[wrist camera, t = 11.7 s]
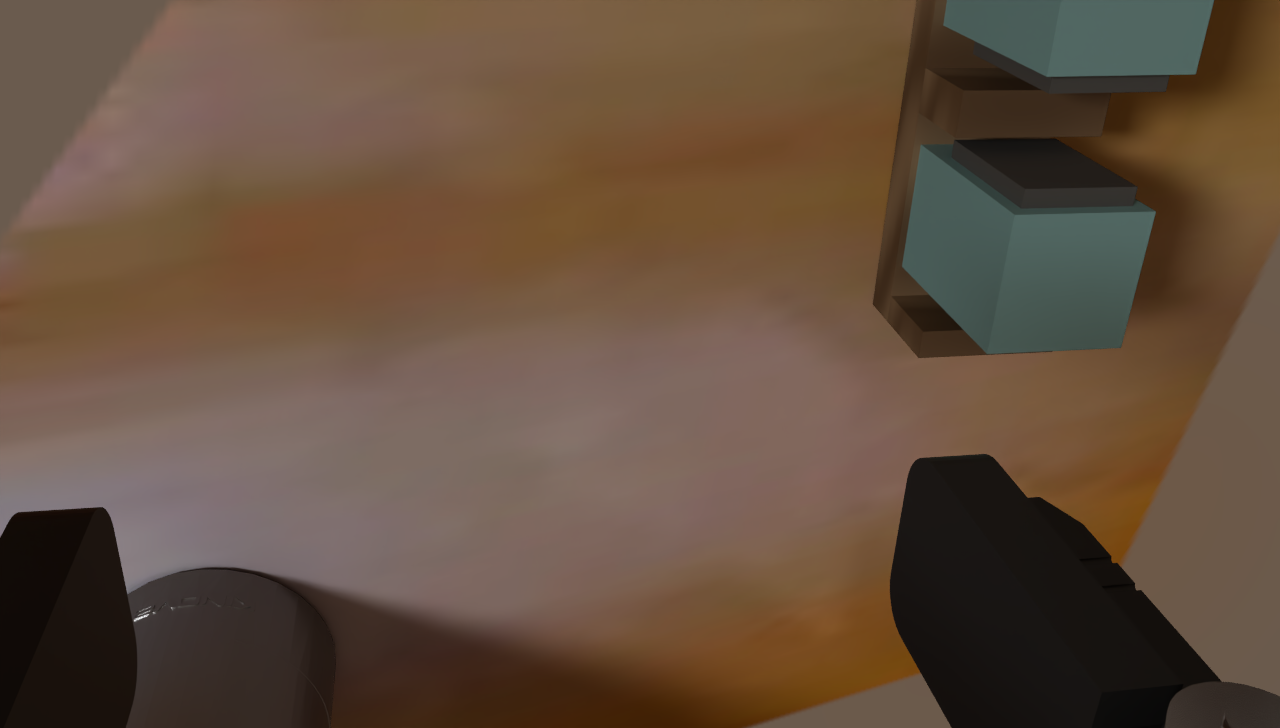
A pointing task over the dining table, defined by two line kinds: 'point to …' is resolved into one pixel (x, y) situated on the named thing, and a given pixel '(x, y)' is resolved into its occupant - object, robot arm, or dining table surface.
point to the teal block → (1086, 41)
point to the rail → (939, 114)
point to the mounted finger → (1026, 243)
